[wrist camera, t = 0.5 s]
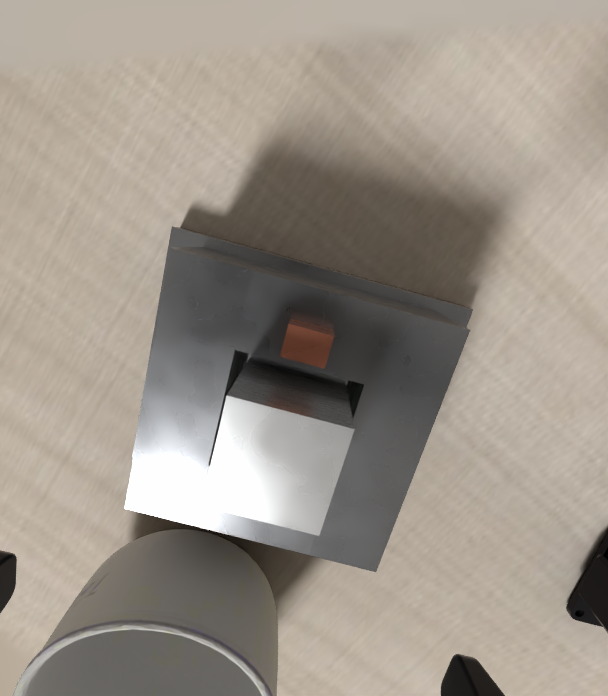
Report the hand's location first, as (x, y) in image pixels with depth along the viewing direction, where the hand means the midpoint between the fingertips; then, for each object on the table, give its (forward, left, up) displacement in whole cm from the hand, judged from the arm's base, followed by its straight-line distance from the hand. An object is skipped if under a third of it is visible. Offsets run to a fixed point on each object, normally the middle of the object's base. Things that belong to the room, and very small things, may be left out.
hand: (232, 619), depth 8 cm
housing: (0, -1, -13) cm, 13 cm away
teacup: (+2, +14, -13) cm, 20 cm away
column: (0, -1, -12) cm, 12 cm away
